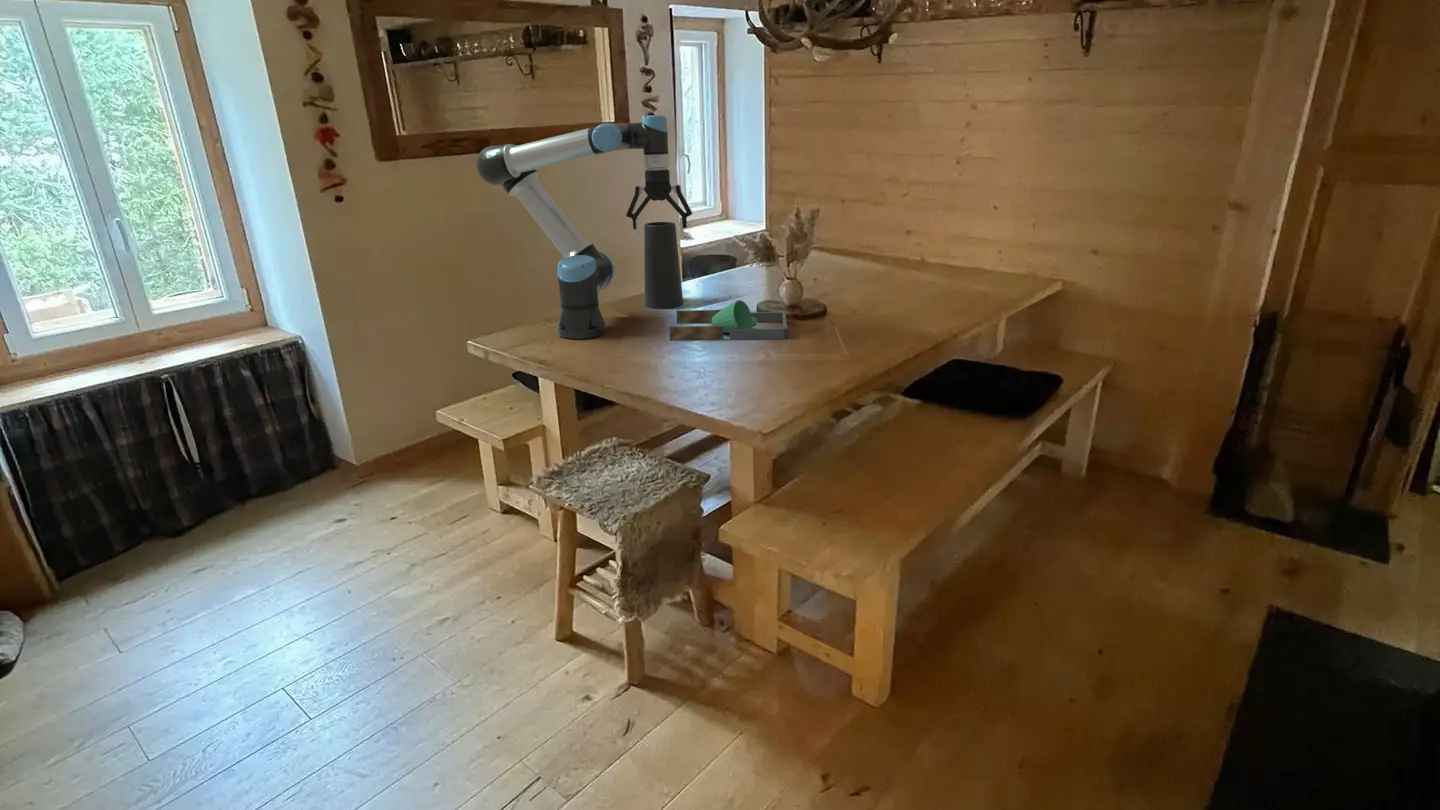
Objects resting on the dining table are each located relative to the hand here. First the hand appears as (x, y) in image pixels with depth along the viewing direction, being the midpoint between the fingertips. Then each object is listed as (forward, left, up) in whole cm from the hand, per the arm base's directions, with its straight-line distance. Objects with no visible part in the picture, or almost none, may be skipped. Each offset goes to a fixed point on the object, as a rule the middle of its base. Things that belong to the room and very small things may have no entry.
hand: (660, 239), depth 249 cm
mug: (+19, -11, -25) cm, 33 cm away
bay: (+12, -11, -27) cm, 31 cm away
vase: (-3, +23, -27) cm, 36 cm away
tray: (+30, -11, -27) cm, 42 cm away
